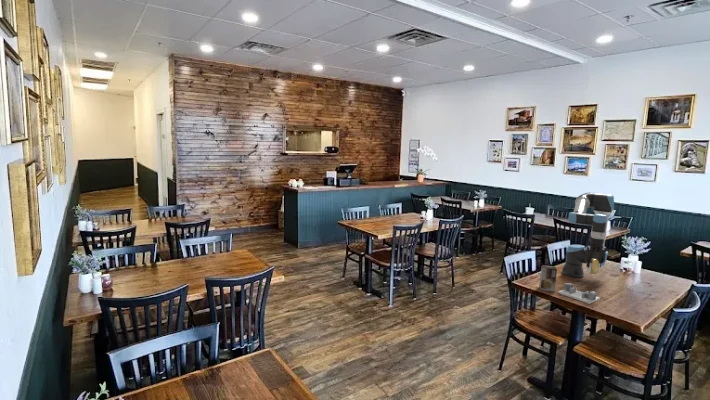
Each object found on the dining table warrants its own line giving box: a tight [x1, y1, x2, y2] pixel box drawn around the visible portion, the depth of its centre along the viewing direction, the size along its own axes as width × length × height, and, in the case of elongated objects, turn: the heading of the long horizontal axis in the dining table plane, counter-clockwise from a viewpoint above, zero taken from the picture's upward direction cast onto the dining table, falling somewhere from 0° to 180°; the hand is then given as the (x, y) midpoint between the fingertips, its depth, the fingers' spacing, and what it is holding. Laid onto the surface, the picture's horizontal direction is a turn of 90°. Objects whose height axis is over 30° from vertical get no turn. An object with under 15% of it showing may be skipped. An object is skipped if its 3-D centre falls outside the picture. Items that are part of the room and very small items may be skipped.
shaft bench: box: [557, 282, 601, 305], centre depth 258 cm, size 20×14×6 cm
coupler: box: [589, 258, 599, 275], centre depth 256 cm, size 5×5×9 cm
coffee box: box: [539, 264, 558, 292], centre depth 268 cm, size 9×6×16 cm
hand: (592, 272), depth 256 cm, fingers closed on coupler, 5 cm apart
